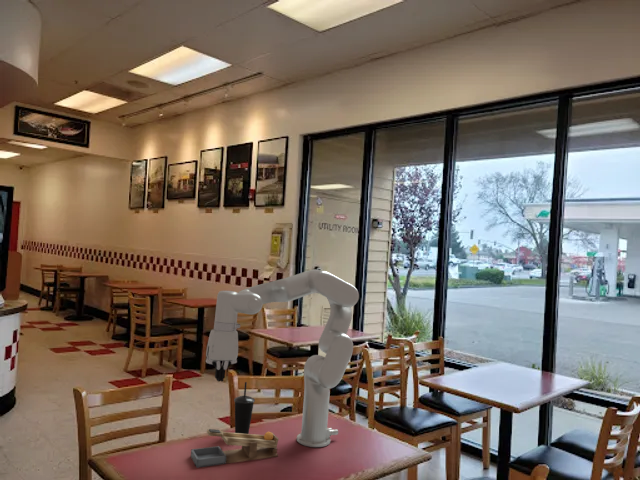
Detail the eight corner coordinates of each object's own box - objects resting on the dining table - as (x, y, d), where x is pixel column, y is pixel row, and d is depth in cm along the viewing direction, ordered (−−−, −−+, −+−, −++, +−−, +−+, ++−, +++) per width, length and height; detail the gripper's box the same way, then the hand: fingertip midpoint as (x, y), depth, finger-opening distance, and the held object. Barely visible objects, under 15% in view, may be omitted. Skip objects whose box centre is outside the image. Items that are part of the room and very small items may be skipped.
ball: (270, 439, 173) (272, 430, 173) (273, 443, 170) (275, 433, 170) (262, 439, 171) (263, 430, 171) (265, 443, 168) (266, 433, 169)
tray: (218, 453, 167) (219, 446, 167) (225, 463, 159) (226, 456, 159) (190, 457, 162) (191, 449, 162) (196, 467, 155) (197, 459, 155)
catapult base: (269, 446, 175) (270, 431, 175) (278, 456, 168) (279, 439, 168) (219, 453, 167) (220, 436, 167) (226, 463, 159) (227, 446, 160)
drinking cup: (247, 441, 179) (252, 386, 179) (228, 438, 180) (232, 383, 181) (254, 434, 186) (258, 381, 187) (235, 431, 188) (239, 378, 188)
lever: (265, 436, 178) (267, 427, 178) (276, 448, 169) (278, 438, 169) (206, 432, 168) (208, 423, 168) (214, 444, 159) (217, 434, 159)
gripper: (242, 325, 176) (237, 377, 175) (200, 324, 169) (195, 378, 169) (249, 329, 169) (243, 382, 169) (206, 328, 162) (200, 384, 162)
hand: (219, 380), depth 169 cm, fingers closed
